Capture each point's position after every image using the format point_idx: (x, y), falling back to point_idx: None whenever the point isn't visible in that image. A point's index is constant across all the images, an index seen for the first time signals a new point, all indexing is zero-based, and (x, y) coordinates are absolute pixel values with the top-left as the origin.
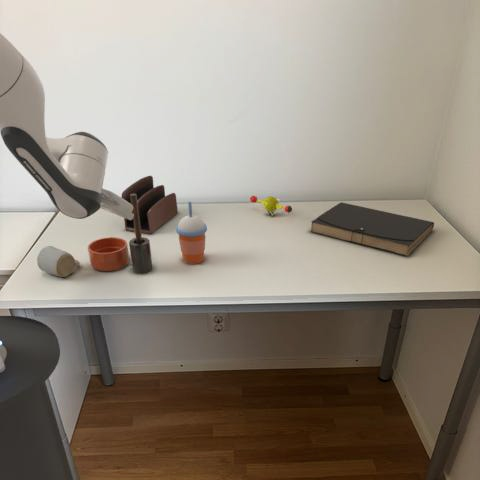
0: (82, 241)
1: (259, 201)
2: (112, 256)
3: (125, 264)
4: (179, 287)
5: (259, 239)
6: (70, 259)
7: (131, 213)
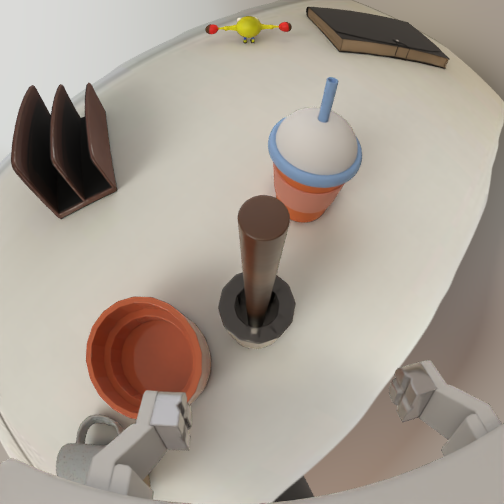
0: (26, 320)
1: (226, 28)
2: (199, 385)
3: (207, 346)
4: (393, 309)
5: (312, 87)
6: None
7: (437, 377)
